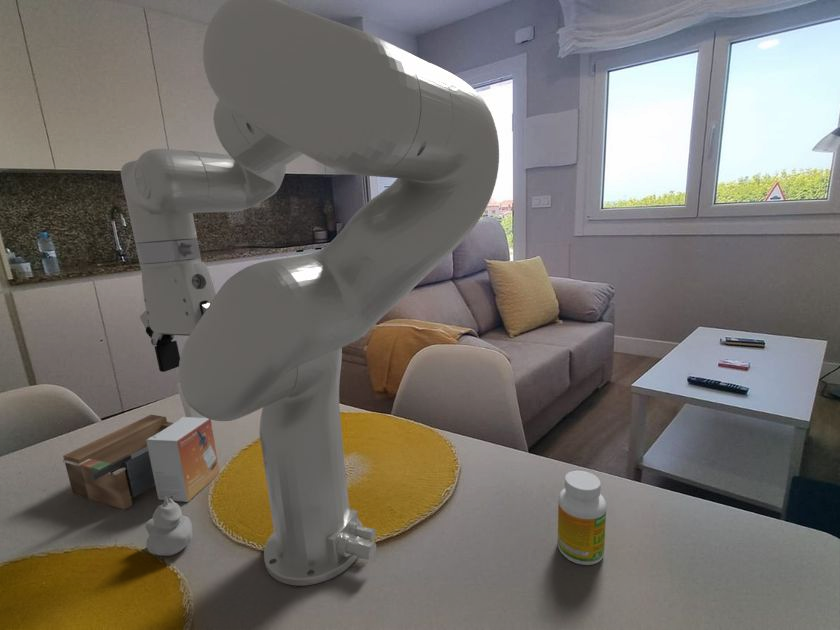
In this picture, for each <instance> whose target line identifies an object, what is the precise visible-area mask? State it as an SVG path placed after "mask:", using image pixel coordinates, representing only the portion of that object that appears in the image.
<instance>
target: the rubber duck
mask: <svg viewBox="0 0 840 630" xmlns="http://www.w3.org/2000/svg"><path fill="white" fill-rule="evenodd" d="M144 528H145V530H146V532H147V533H148V537H147V539H146V548H147V550H148V552H149V553H151V554H152V555H157V556H166V557H168V556H173V555H176V554H178V553H179V552H181V551H183V550H184V548H186V547H187V546H189V544H190V543H191V541H192V540H193V524H192V521H191V519H190V518H189V517H188V516H186V515H183V511H182V509H181V506H180V505H179V503H177V502H176V501H173V500H172V499H170V498H169V499H168V500H167V497H165V499H164V500H163V503H162V504H159V505H157V507H156V509H155V510H154V511H153V514H152V518H150V519H149V520H148V521H147V522H146V523H145V524H144Z"/></svg>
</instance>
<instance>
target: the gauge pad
mask: <svg viewBox="0 0 840 630" xmlns="http://www.w3.org/2000/svg"><path fill="white" fill-rule="evenodd" d="M120 466H123V467H125V468H126V469H125V475H126V479H127V483H128V488H129V492H130V496H131V498H134V497H137V496H138V495H140V494H141V493H143V492H144V491H146V490H148V489H149V488H151V487H153V486H154V485H155V481H154V476H153V471H152V466H151V461H150V457H149V452H148V447H145V448H143V449H141V450H139V451H137V452H135V453H134V454H132V455H126V456H124V457H122V458H121V459H119V460H117V461H115V462H113V463H111V464H109V465H107V466H105V467H104V468H102V469H100V470H98V471H96V472H94V473H92V474H90V477H91V480H96V479H98V478H100V477H102V476H103V475H105V474H107V473H109V472H111V471H113V470H114V469H116V468H118V467H120Z"/></svg>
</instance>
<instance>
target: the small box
mask: <svg viewBox="0 0 840 630" xmlns="http://www.w3.org/2000/svg"><path fill="white" fill-rule="evenodd" d="M172 423H173V424H172V425H170V426H169V427H167V428H165V429H164V430H162V431H161V432H159V433H157V434H156V435H154V436H152V437H150V438H148V439H147V440H146V442H147V447H148V452H149V457H150V461H151V466H152V471H153V476H154V481H155V484H154V485H155V490H156V494H157V499H158V500H160V501H164V499H165V497H167V500H168V499H169V498H170V499H172V500H173V501H174V502H184V503H188V502H191V500H192V499H193V498H194V497H195V496H197V495H198V493H200V492H201V491H202V490H203V489H204V488H205V487H207V486H208V484H210V483H211V482H213V480H215V479H216V478H218V476H220V468H219V466H220V465H219V461H218V455H217V448H216V444H215V437H214V432H213V425H212V424H213V423H212V420H211V419H208V418H194V417H186V416H182V417H180V418H179V419H178V420H177V421H175V422H172Z"/></svg>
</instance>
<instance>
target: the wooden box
mask: <svg viewBox="0 0 840 630" xmlns="http://www.w3.org/2000/svg"><path fill="white" fill-rule="evenodd" d="M173 423H174V422H171V421H168V419H167V416H163V415H156V414H149V415H147V416H144V417H143V418H140V419H139V420H136V421H134V422H132V423H130V424H128V425H126V426H124V427H122V428H120V429H119V428H118V429H117V430H115V431H113V432H111V433H108V434H106V435H103V436H102V437H99V438H97V439H96V440H94V441H92V442H89V443H87V444H85V445H83V446H81V447H78V448H77V449H74V450H72V451H70V452H68V453H65V454H64V455H62V458H63V459H62V463H64V465H65V469H66V472H67V476H68V479H69V485H70V488H71V491H72V495H74V496H78V497H80V498H81V497H82V498H85V499H88V500H92V501H95V502H99V503H102V504H105V505H109V506H112V507H116V508H118V509H123V510H126V509H127V508H130V507H131V506H133V502H132V497H131V496H130V492H129V488H128V483H127V479H126V475H125V469H126V468H125V467H123V466H120V467H118V468H116V469H114V470H113V471H111V472H109V473H107V474H105V475H103V476H102V477H100V478H98V479H96V480H91V477H90V474H92V473H94V472H96V471H98V470H100V469H102V468H104V467H105V466H107V465H109V464H111V463H113V462H115V461H117V460H119V459H121V458H122V457H124V456H126V455H132V454H134V453H135V452H137V451H139V450H141V449H143V448H145V447H147V442H146V440H147V439H148V438H150V437H152V436H154V435H156V434H157V433H159V432H161V431H162V430H164V429H165V428H167V427H169V426H170V425H172V424H173Z"/></svg>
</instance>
